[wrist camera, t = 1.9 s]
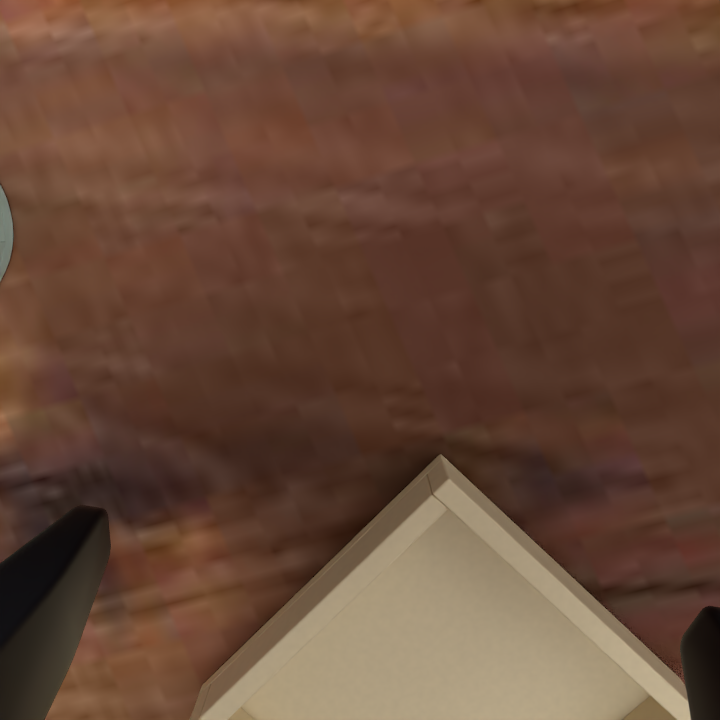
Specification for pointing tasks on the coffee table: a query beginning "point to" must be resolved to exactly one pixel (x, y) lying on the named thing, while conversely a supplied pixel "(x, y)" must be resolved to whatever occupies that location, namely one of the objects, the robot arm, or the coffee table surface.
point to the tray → (442, 630)
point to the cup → (5, 233)
